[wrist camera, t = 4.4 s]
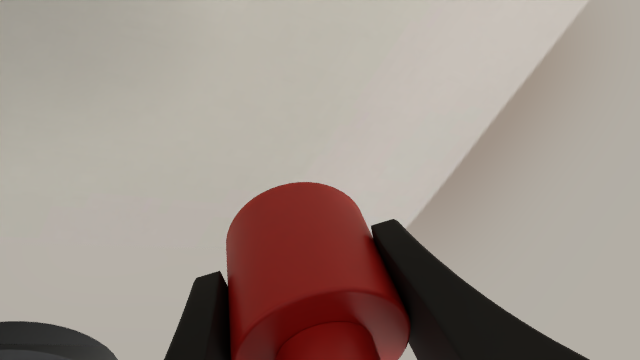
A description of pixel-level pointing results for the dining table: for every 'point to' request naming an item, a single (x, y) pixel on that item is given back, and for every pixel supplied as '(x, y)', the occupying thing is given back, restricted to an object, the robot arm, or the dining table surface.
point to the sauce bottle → (310, 281)
